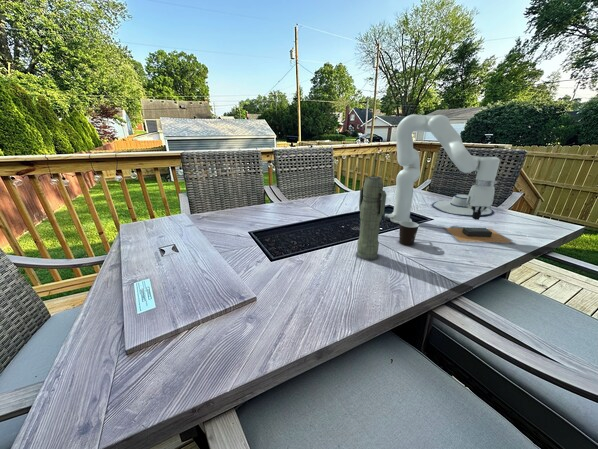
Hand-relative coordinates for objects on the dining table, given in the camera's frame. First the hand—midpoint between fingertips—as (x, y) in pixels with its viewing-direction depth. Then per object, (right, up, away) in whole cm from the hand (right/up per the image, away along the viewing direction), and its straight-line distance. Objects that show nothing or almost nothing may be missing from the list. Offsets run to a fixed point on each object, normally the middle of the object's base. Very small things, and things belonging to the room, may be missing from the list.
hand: (475, 218), depth 126 cm
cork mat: (+2, -9, +3) cm, 9 cm away
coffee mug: (-36, -12, -3) cm, 38 cm away
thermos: (-60, -17, -15) cm, 64 cm away
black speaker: (-3, -7, +3) cm, 8 cm away
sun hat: (+24, +8, +47) cm, 54 cm away
